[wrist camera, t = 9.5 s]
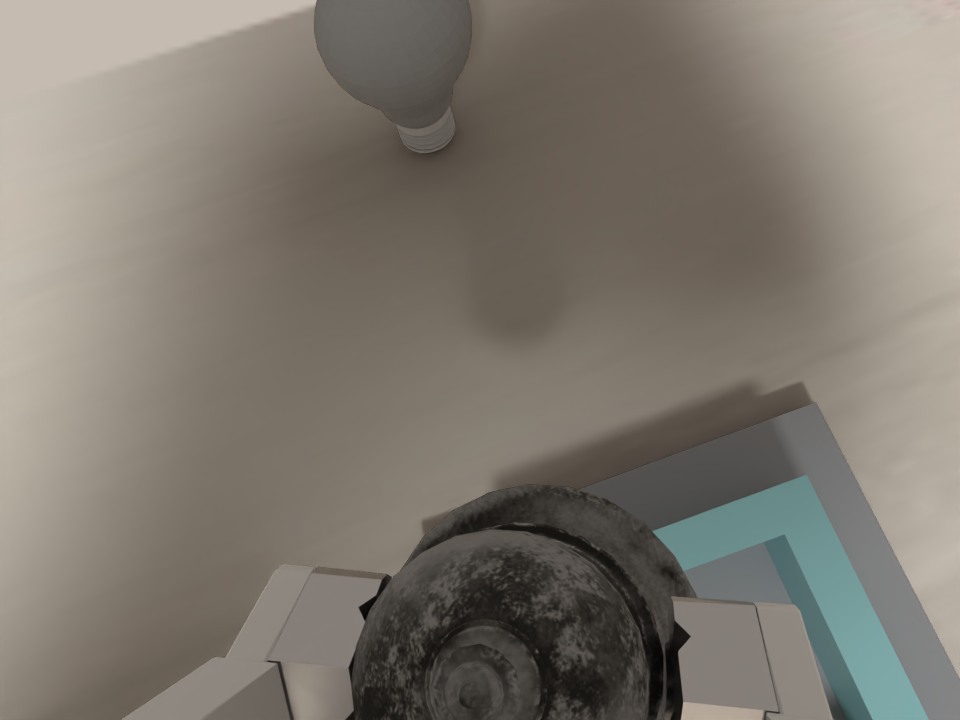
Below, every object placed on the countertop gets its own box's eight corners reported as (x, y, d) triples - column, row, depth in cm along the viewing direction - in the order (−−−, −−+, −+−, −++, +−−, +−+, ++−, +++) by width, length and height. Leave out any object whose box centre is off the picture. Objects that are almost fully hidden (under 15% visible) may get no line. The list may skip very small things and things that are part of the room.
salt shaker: (704, 787, 15) (1015, 1256, 4) (423, 794, 16) (35, 1212, 5) (667, 500, 17) (811, 287, 6) (418, 517, 18) (132, 353, 7)
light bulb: (496, 79, 36) (464, -107, 26) (488, 190, 34) (452, 33, 25) (374, 83, 37) (301, -97, 27) (360, 192, 35) (278, 40, 25)
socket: (1042, 862, 24) (1128, 912, 20) (572, 1029, 24) (570, 1108, 20) (808, 408, 29) (842, 380, 25) (424, 549, 29) (401, 542, 26)
